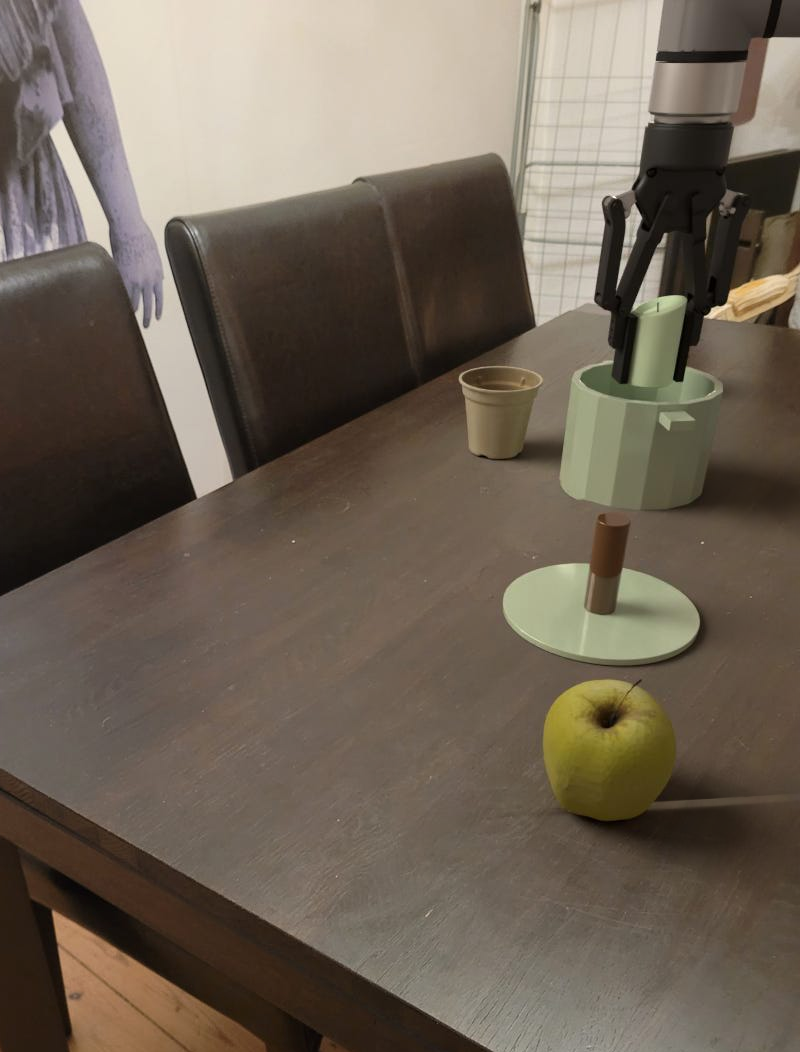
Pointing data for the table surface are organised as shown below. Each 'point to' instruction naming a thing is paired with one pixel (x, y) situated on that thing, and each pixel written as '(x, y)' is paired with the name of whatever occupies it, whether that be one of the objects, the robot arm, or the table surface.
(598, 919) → the table surface
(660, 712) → the apple
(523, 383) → the flower pot
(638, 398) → the pot
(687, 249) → the robot arm
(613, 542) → the pot lid
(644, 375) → the candle
